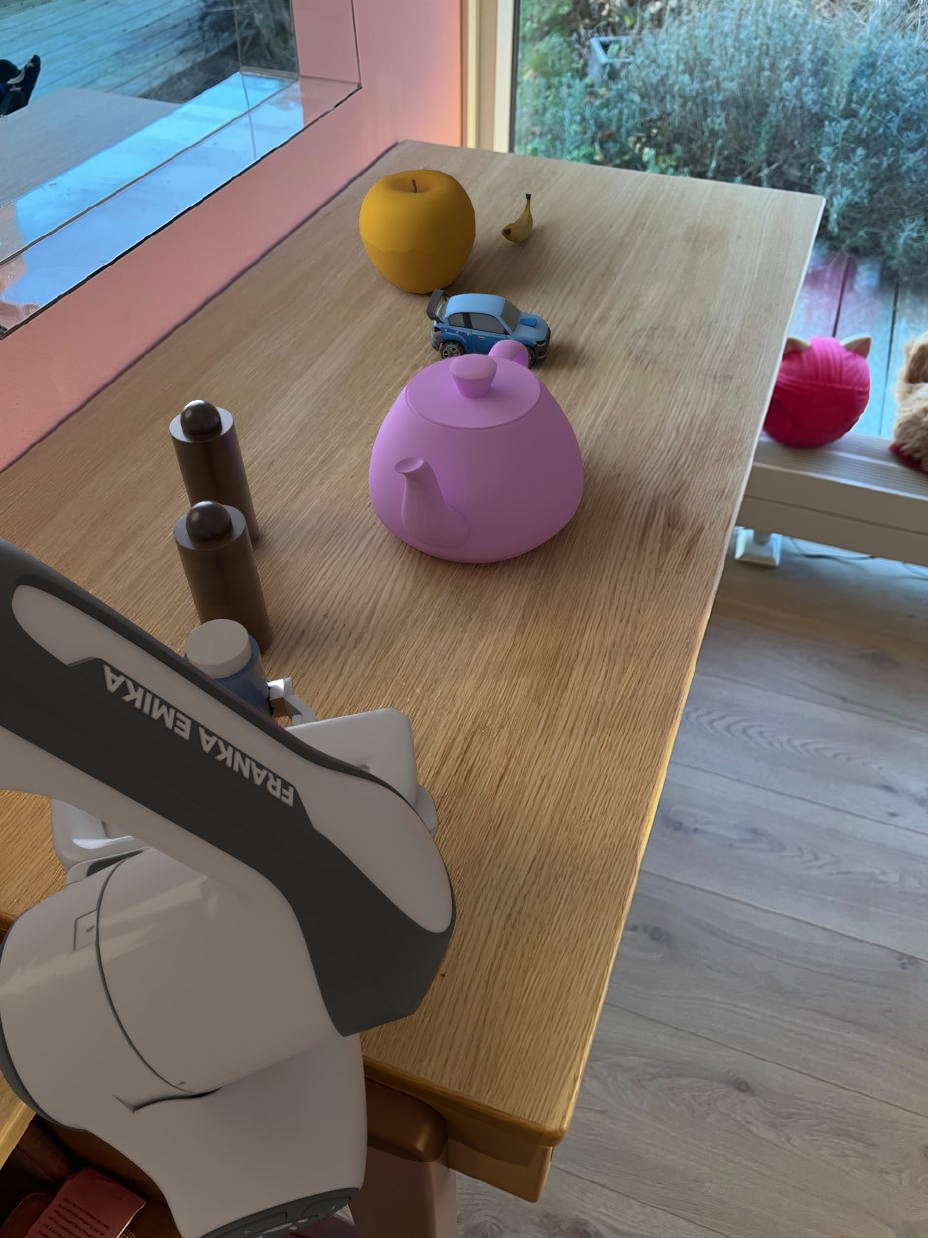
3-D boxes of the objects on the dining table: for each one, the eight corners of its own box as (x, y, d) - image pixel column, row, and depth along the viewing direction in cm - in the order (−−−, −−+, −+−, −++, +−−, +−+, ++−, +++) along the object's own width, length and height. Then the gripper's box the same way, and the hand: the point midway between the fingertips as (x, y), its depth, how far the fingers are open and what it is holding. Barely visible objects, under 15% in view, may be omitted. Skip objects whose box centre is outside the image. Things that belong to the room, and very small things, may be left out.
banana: (517, 262, 116) (517, 228, 113) (497, 260, 117) (497, 226, 114) (538, 225, 123) (539, 192, 120) (519, 223, 124) (519, 191, 121)
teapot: (429, 415, 95) (421, 278, 85) (612, 450, 90) (625, 309, 80) (310, 587, 78) (283, 443, 69) (526, 641, 74) (530, 494, 64)
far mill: (188, 544, 82) (149, 412, 73) (223, 510, 85) (190, 379, 76) (236, 561, 81) (202, 428, 72) (270, 526, 84) (241, 394, 75)
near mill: (194, 651, 74) (151, 516, 65) (233, 610, 77) (197, 475, 68) (247, 672, 72) (211, 537, 63) (285, 629, 75) (255, 494, 66)
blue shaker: (207, 782, 65) (161, 654, 56) (247, 734, 68) (209, 605, 59) (262, 807, 64) (224, 680, 55) (301, 757, 66) (270, 628, 58)
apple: (345, 295, 112) (332, 192, 104) (396, 246, 120) (389, 147, 112) (450, 316, 108) (445, 210, 100) (496, 264, 116) (495, 162, 108)
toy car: (545, 371, 100) (547, 319, 95) (427, 363, 101) (424, 312, 97) (551, 341, 104) (553, 289, 100) (438, 334, 105) (435, 283, 101)
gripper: (443, 815, 51) (396, 627, 61) (30, 902, 48) (48, 691, 58) (448, 879, 56) (403, 695, 65) (70, 962, 53) (81, 757, 62)
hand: (233, 694), depth 62 cm, fingers closed on blue shaker, 4 cm apart
